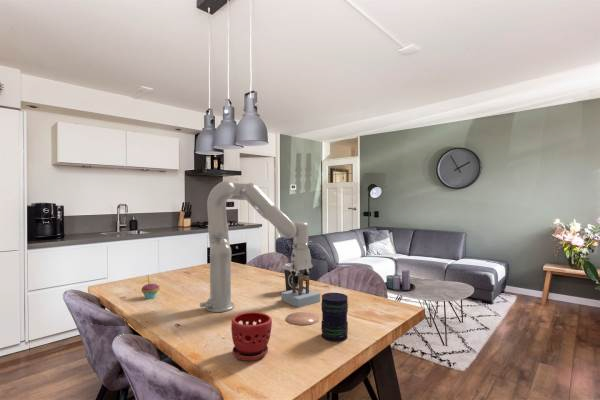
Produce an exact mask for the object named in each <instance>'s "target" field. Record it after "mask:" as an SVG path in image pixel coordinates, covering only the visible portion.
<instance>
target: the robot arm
mask: <svg viewBox="0 0 600 400" xmlns="http://www.w3.org/2000/svg"><path fill="white" fill-rule="evenodd" d="M229 200H235V201H247V203H249V204H250V205H251V206H252V207H253V209H254V210H255V211H256V212H257V213H258V214H259V215H260V216H261V217H262V218H264V219H265V220H266V221H268V222H269V223H270V224H272V226H274V228H275V229H276V230H277V233H278V234H279V236H281V237H283V238H285V239H293V242H292V246H291V248H292V250H291V252H292V253H291V257H290V258H291V260H290V263H291V265H290V267H289V268H288V270H289V271H290V272H291V274H292V275H293V283H295V284H298V276H297V274H298V271H299V270H300V271H303V275H306V276H309V274H310V271H312V268H313V267H314V265H313V263H312V256H311V251H310V248H309V224H308V222H305V221H304V222H303V221H298V222H292V220H290V218H289V217H288V216H287V215H286V214H285V213H284V212H283V211H282V210H281V209H280V208H279V207H278V206H277V205H276V204H275V203H274V202H273V201H272V200H271V199H270V198H269V196H268V195H266V193H265V192H263V191H262V189H261V188H260V187H259V186H258V185H256V184H255V183H253V182H248V183H238V182H232V181H230V180H223V181H221V182H219V183H218V184H216V185H215V186H214V187H213V188H212V189H211V191H210V192H209V195H208V196H207V202H206V204H207V208H206V209H207V219H208V221H207V223H208V225H207V230H208V239H209V240H208V241H209V249H210V250H209V298H208V299H207V300H206V301H205V302H204V301H203V302H200V303H199V308H203V307H204V309H206V310H207V311H208V312H212V313H222V312H224V313H225V312H229V311H231V310H233V309H234V308H235V303H233V302H232V247H231V246H230V238H229V237H230V236H229V224H228V217H227V201H229ZM292 269H293V270H292ZM295 271H296V272H295ZM300 271H299V272H300ZM303 282H306V280H304V281H303Z"/></svg>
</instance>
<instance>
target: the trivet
mask: <svg viewBox="0 0 600 400" xmlns="http://www.w3.org/2000/svg"><path fill="white" fill-rule="evenodd" d="M285 319H286V320H285V321H286V322H288V323H289V324H292V325H296V326H308V325H309V326H310V325H314V324H316V323H317V322H319V316H318V315H317V314H315V313H311V312H306V311H299V312H292V313H290V314H288V315H286V317H285Z"/></svg>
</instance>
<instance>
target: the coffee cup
mask: <svg viewBox="0 0 600 400" xmlns="http://www.w3.org/2000/svg"><path fill="white" fill-rule="evenodd" d="M290 265H291V262H289V263H284V266H283V267H282V268H283V271H284V281H285V282H284V283H285V292H286V291H290V290H292V276H293V275H292V274H291V272H290V271H289V270H288V268H289V267H290ZM292 270H293V269H292ZM300 271H301V270H299V271H298V274H297V275H299V274H300ZM295 272H296V271H295ZM296 288H297V289H298V284H296Z"/></svg>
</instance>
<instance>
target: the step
mask: <svg viewBox="0 0 600 400" xmlns="http://www.w3.org/2000/svg"><path fill="white" fill-rule="evenodd" d="M280 293H281V295H280V297H281V299H280V300H281V301H282V302H284V303H287V304H290V305H291V306H294V307H297V308H301V307H307V306H309V305H312V304H317V303H321V293H320V292H318V291H317V292H316V291H314V290H310V289H309V293H308V294H307V293H306V289H303V291H302V295H298V291H297V290H296V293H292V290H290V291H286V290H285V291H282V292H280Z"/></svg>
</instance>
